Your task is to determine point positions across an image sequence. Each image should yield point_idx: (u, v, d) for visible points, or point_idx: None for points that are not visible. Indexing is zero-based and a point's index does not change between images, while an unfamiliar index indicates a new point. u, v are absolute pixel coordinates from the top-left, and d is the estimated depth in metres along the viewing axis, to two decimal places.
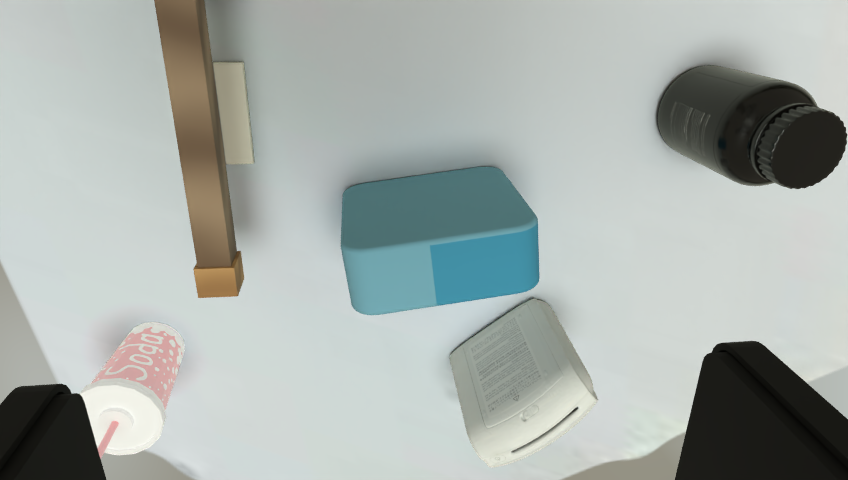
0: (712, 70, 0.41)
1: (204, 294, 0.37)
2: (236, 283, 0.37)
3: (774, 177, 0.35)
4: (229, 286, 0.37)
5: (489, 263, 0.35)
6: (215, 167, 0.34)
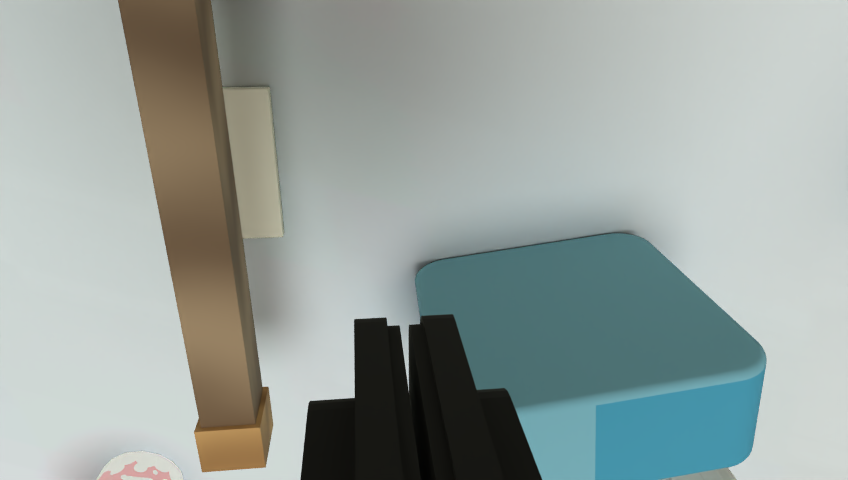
0: None
1: (212, 467, 0.23)
2: (263, 448, 0.23)
3: None
4: (252, 454, 0.23)
5: (688, 428, 0.21)
6: (231, 276, 0.20)
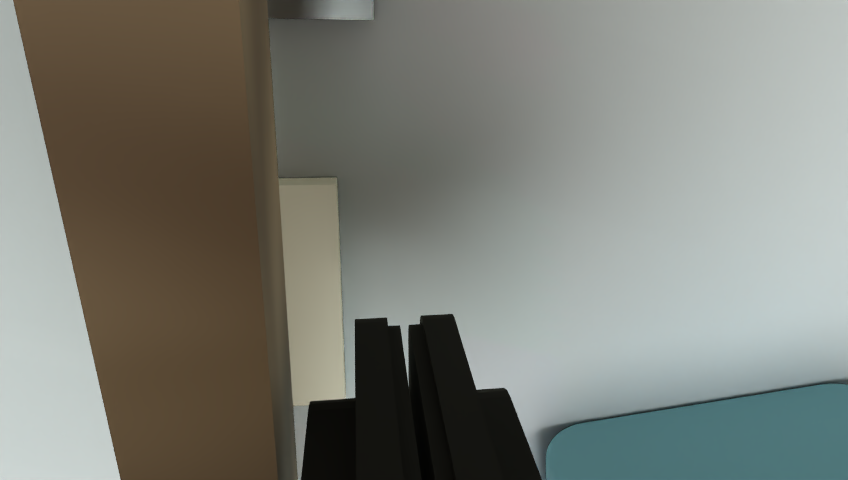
0: None
1: None
2: None
3: None
4: None
5: None
6: None
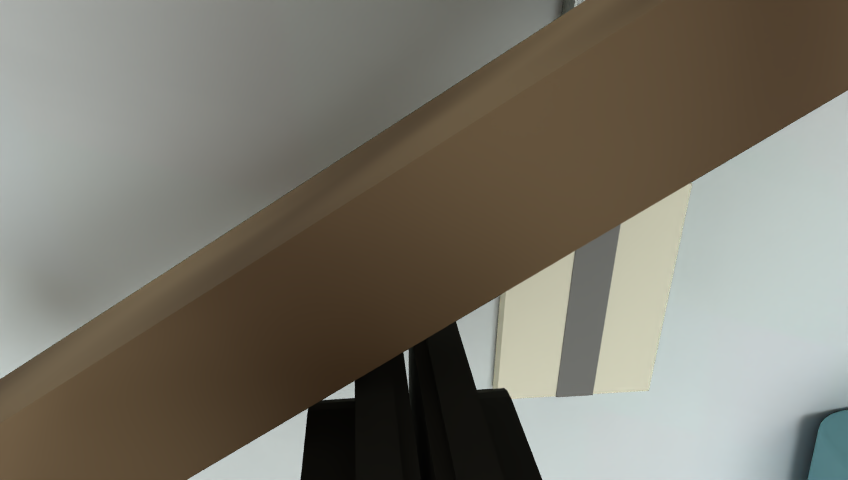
0: None
1: None
2: None
3: None
4: None
5: None
6: (266, 424, 0.07)
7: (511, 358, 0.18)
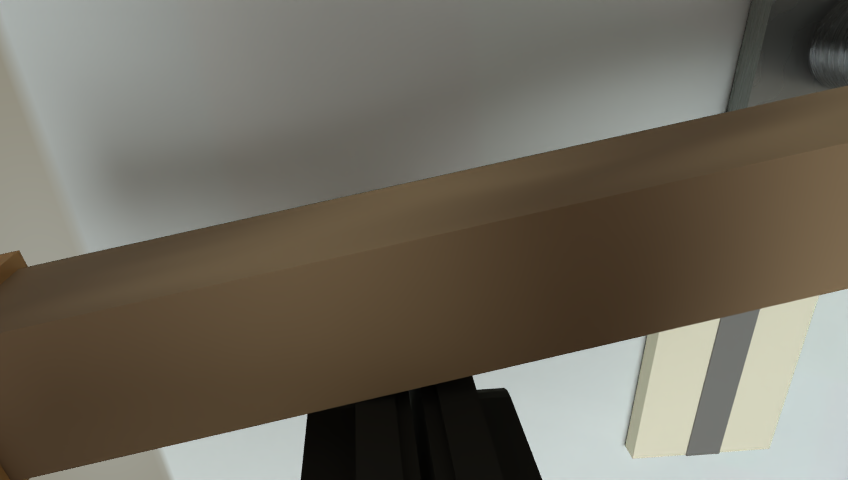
0: None
1: None
2: None
3: None
4: None
5: None
6: (512, 359, 0.07)
7: (650, 422, 0.19)
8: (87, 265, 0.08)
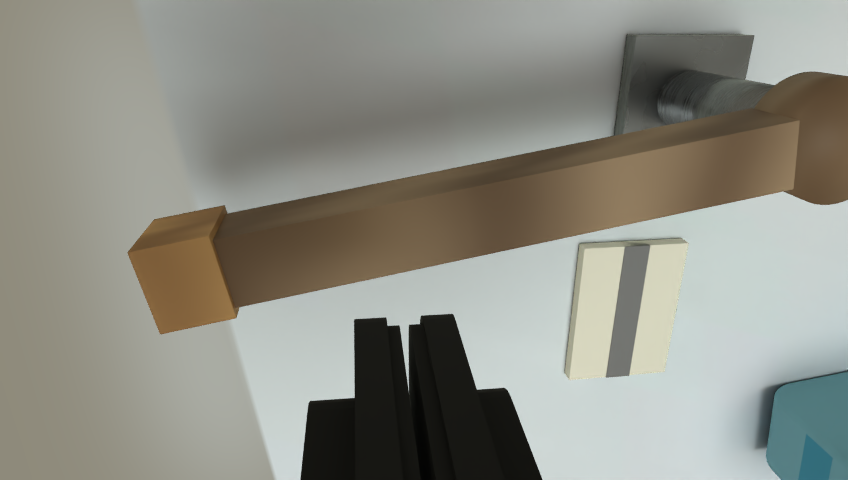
0: None
1: (142, 265, 0.15)
2: (192, 324, 0.16)
3: None
4: (182, 314, 0.15)
5: None
6: (465, 255, 0.16)
7: (579, 353, 0.28)
8: (264, 211, 0.16)
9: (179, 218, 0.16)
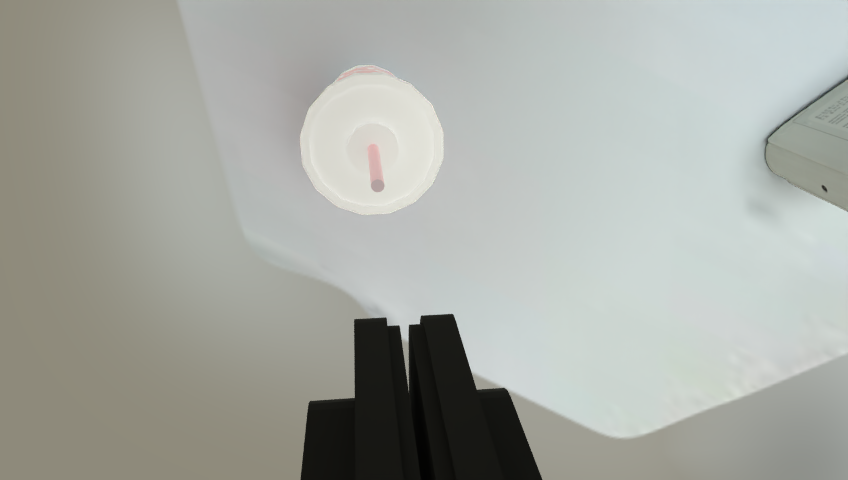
0: None
1: None
2: None
3: None
4: None
5: None
6: None
7: None
8: None
9: None
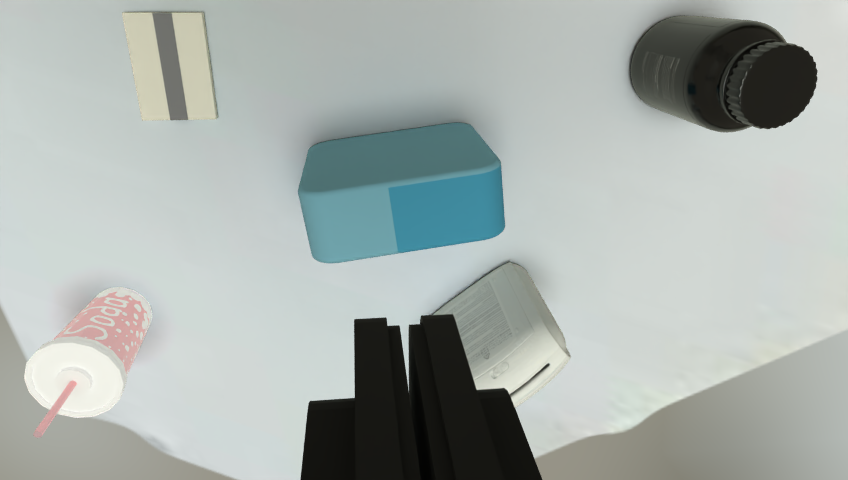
0: (683, 18, 0.40)
1: None
2: None
3: (743, 116, 0.34)
4: None
5: (450, 207, 0.34)
6: None
7: (143, 98, 0.40)
8: None
9: None
